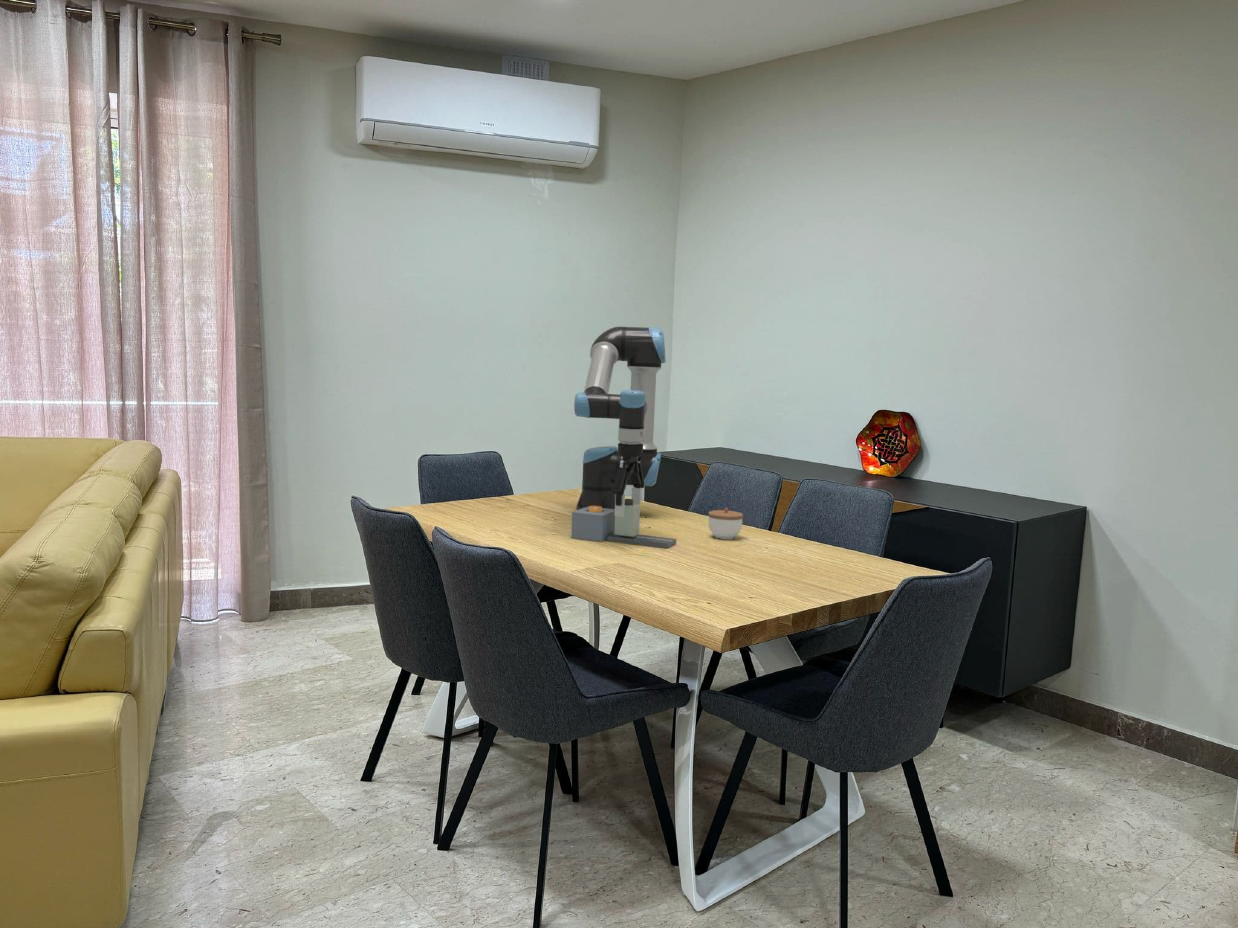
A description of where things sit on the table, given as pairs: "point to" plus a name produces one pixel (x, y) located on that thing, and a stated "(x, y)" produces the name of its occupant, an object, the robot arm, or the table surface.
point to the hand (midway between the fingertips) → (627, 512)
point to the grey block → (593, 524)
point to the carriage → (628, 520)
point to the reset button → (595, 509)
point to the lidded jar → (725, 523)
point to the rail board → (643, 540)
